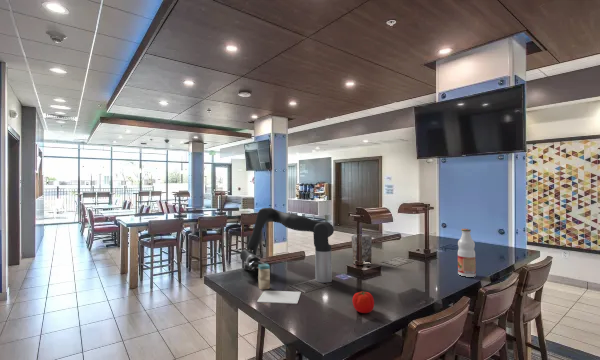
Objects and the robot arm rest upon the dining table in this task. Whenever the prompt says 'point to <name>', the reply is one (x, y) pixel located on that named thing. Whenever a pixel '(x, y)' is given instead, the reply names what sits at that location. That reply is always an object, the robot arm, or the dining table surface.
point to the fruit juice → (466, 255)
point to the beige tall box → (263, 276)
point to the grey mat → (279, 297)
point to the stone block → (365, 248)
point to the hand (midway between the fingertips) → (258, 268)
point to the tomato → (363, 302)
